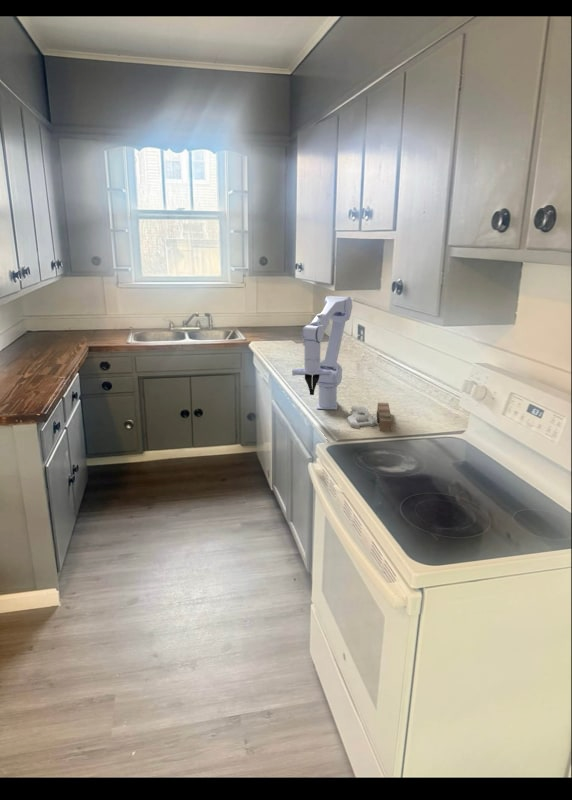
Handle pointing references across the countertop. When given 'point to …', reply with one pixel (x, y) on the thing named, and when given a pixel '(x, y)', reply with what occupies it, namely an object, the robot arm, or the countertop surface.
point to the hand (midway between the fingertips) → (312, 394)
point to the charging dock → (384, 417)
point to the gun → (360, 417)
